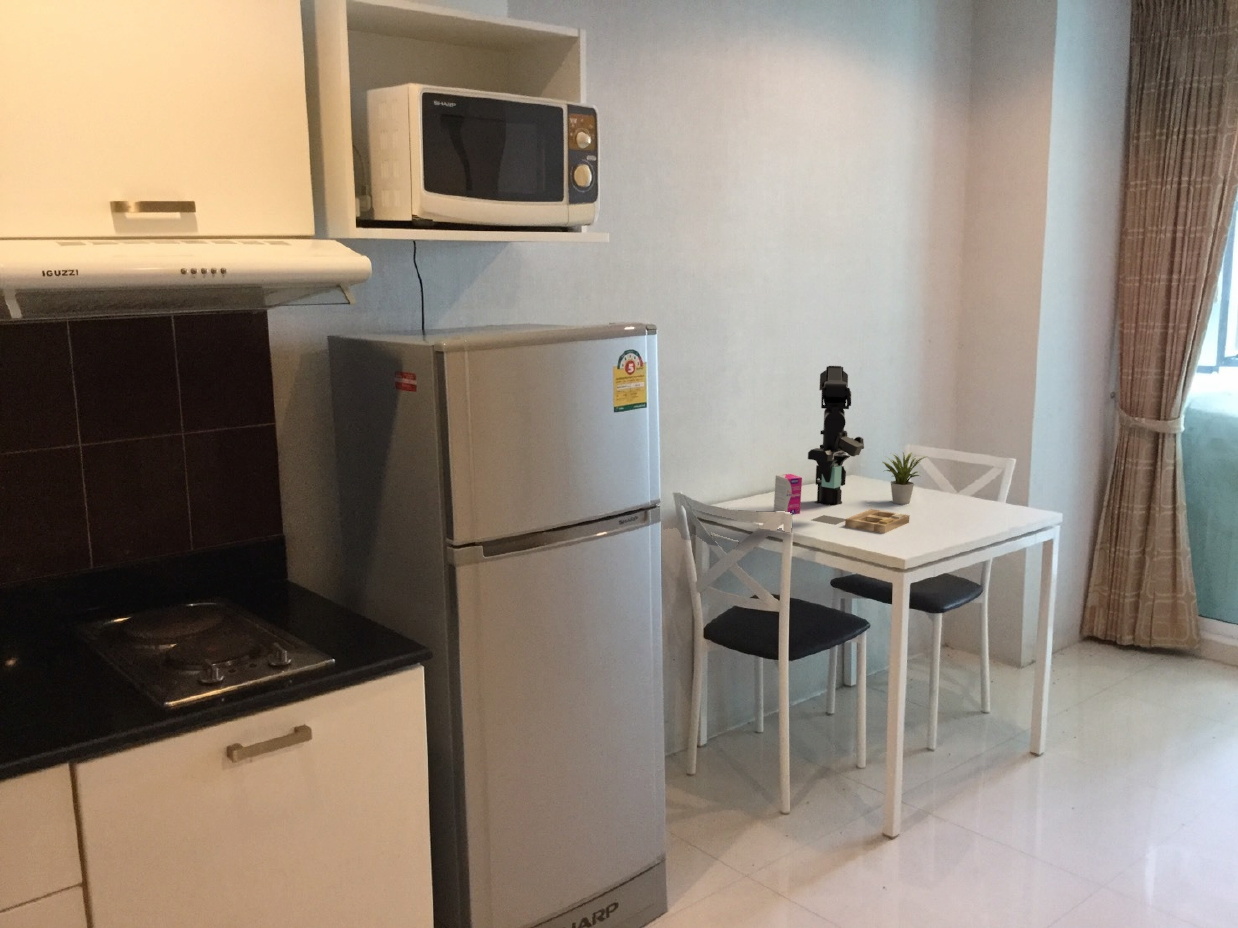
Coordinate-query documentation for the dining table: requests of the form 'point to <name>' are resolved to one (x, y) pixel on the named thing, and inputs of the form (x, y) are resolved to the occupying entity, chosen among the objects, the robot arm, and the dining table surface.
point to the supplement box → (788, 493)
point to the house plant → (902, 479)
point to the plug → (833, 477)
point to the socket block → (877, 521)
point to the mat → (829, 519)
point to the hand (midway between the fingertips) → (831, 481)
